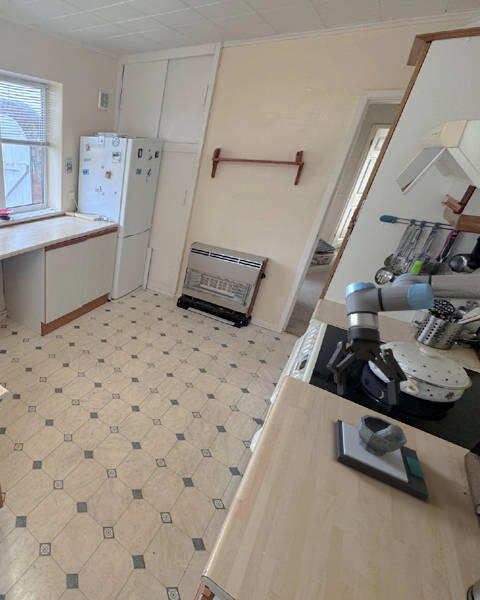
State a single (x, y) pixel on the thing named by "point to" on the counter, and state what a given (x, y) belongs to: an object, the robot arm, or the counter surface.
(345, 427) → the kitchen scale
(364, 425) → the mortar and pestle
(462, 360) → the counter surface
